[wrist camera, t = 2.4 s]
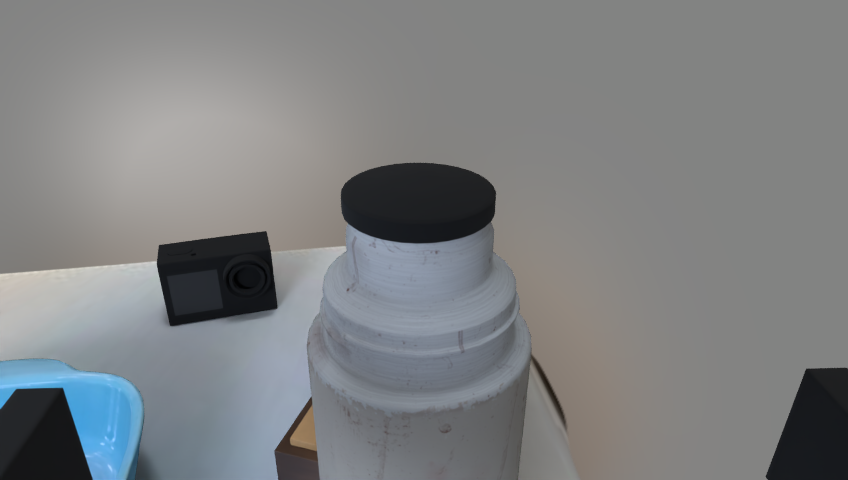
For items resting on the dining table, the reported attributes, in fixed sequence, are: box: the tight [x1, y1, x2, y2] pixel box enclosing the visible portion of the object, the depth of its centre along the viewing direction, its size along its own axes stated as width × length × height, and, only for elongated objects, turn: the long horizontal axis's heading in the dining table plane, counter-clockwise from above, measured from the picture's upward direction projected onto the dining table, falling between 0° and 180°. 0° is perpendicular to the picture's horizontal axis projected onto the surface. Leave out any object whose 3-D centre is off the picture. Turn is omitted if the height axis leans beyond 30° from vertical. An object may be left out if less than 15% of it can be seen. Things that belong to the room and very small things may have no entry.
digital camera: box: [157, 231, 277, 325], centre depth 61 cm, size 10×5×7 cm, turn 108°
